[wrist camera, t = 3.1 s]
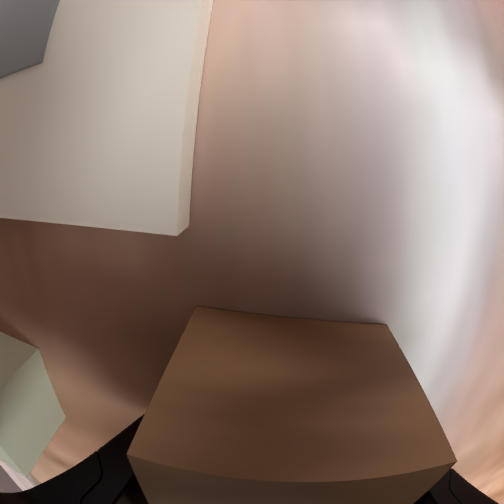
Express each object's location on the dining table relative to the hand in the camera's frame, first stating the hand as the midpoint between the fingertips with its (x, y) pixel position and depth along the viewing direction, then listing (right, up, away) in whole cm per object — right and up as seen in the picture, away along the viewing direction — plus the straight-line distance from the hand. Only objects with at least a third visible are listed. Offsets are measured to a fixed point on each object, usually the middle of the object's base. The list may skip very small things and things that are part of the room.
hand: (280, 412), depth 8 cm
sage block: (-12, -1, +2) cm, 12 cm away
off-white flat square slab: (-10, +14, -3) cm, 17 cm away
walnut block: (0, 0, +1) cm, 1 cm away
